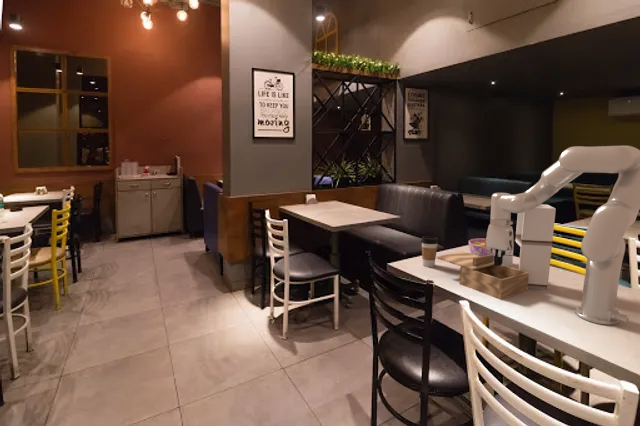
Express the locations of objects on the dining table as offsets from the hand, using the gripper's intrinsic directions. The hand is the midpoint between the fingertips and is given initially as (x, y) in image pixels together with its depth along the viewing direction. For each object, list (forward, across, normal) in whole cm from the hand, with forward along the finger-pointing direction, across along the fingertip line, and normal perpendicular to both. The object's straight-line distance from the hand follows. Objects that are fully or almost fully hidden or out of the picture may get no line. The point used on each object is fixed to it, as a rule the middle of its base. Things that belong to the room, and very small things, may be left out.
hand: (497, 264), depth 157 cm
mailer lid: (+2, +16, 0) cm, 16 cm away
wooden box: (+10, +2, 0) cm, 11 cm away
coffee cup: (+10, +38, +1) cm, 39 cm away
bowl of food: (+10, +23, -26) cm, 36 cm away
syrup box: (+11, +9, -18) cm, 23 cm away
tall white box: (+11, -4, -17) cm, 21 cm away
